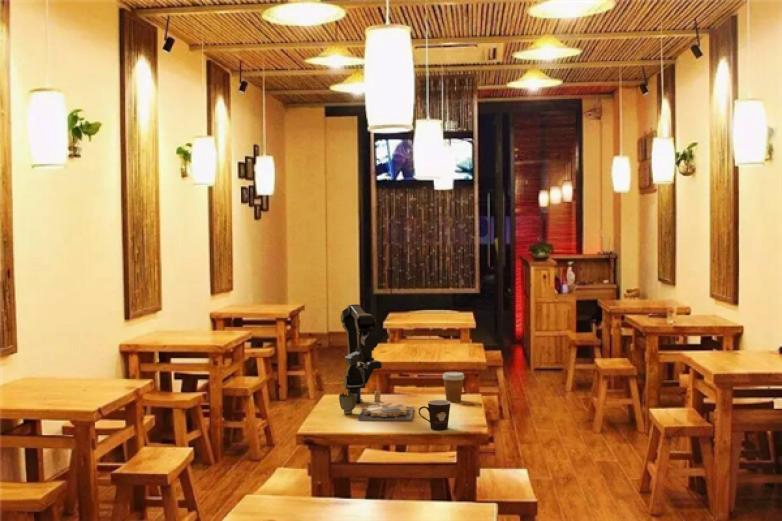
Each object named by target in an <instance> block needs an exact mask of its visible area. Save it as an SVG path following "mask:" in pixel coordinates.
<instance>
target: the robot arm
mask: <svg viewBox="0 0 782 521" xmlns="http://www.w3.org/2000/svg"><path fill="white" fill-rule="evenodd" d="M340 322H341V325H342V328H343V330H344V331H345V332H346V342H347V355H346V356H344V359H345V362H346V364H347V365H348V367H347V369H346V371H345V375H344V379H343V388H344V389H345V390H347V394H348V393H350V394H351V393H352V394H354V393H355V394H357V400H356V404H362V402H363V399H362V393H361V392H362V389H365V388H366V384H368V382H369V379H370V378H371V375H372V373H373V371H374V370H379V369H383V364H382V362H381V361H380V360H376V359H375V357H373V352H374V351H375V348H376V347H378V345H379V339H378V337H377V336H376V335H375V334H374V333H378V331H377V330H378V325H377V321H376V319H375V317H374V316H373V315H372V314H371V313H367V312H365V311H364V310H363V308H362V306H361V304H358V303H356V304H349V305H347V307H346V308H345V309H344V310H342V311H341V313H340Z"/></svg>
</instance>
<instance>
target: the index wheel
mask: <svg viewBox="0 0 782 521" xmlns="http://www.w3.org/2000/svg"><path fill="white" fill-rule="evenodd" d="M373 404H374V405H371V404H369V405H366V406H367V408H364V413H366V414H370V415H372V416H380V417H393V416H400V415H405V414H407V412H410V409H409V407H410V406H408V405H405V406H404V405H403V404H400V403H398V404H394V403H393V404H392V403H385V402H384V401H381V391H380V390H375V391H374V400H373Z"/></svg>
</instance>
